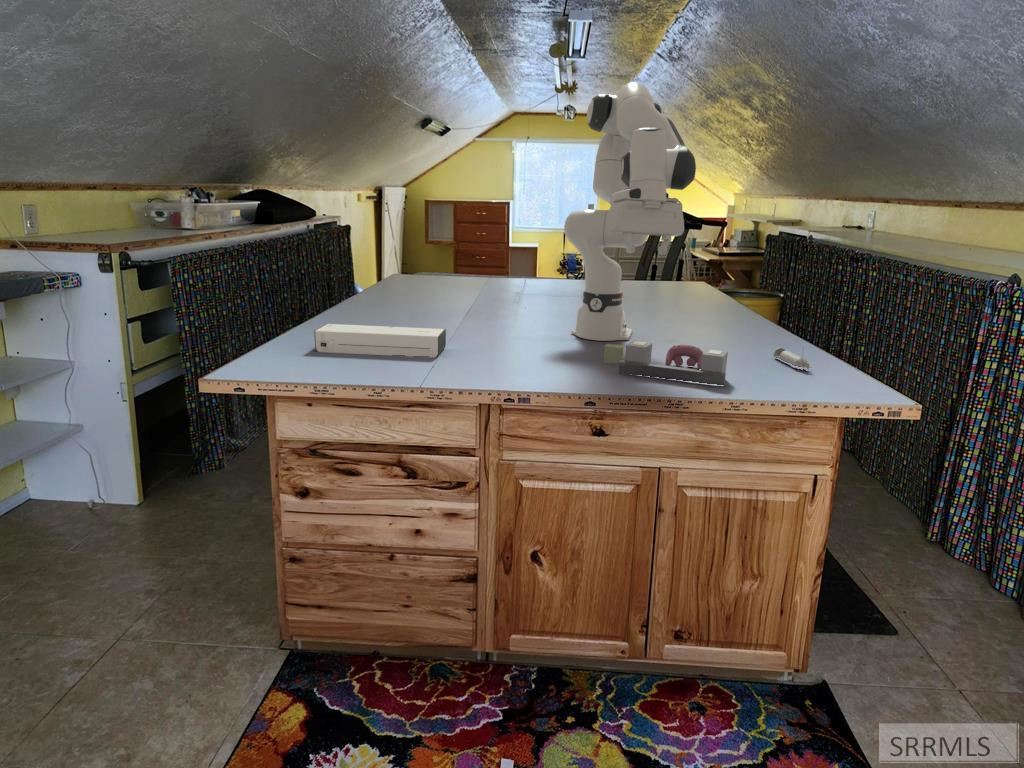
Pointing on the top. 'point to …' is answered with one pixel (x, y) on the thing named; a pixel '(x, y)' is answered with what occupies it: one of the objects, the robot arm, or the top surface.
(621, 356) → the block
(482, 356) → the top surface
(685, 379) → the rail bar
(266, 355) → the top surface
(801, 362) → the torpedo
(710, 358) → the mounted modules
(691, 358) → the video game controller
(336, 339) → the laminator
